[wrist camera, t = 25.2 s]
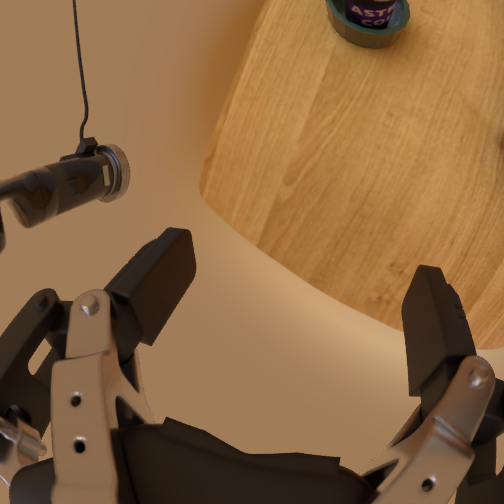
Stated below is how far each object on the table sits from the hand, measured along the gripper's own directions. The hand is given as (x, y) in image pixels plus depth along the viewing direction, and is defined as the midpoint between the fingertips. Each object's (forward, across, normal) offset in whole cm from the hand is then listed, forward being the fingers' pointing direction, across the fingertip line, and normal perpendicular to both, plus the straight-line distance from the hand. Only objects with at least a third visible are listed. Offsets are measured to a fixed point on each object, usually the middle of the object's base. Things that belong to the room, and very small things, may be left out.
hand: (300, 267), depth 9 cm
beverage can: (+30, -5, -17) cm, 35 cm away
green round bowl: (+31, -5, -17) cm, 36 cm away
